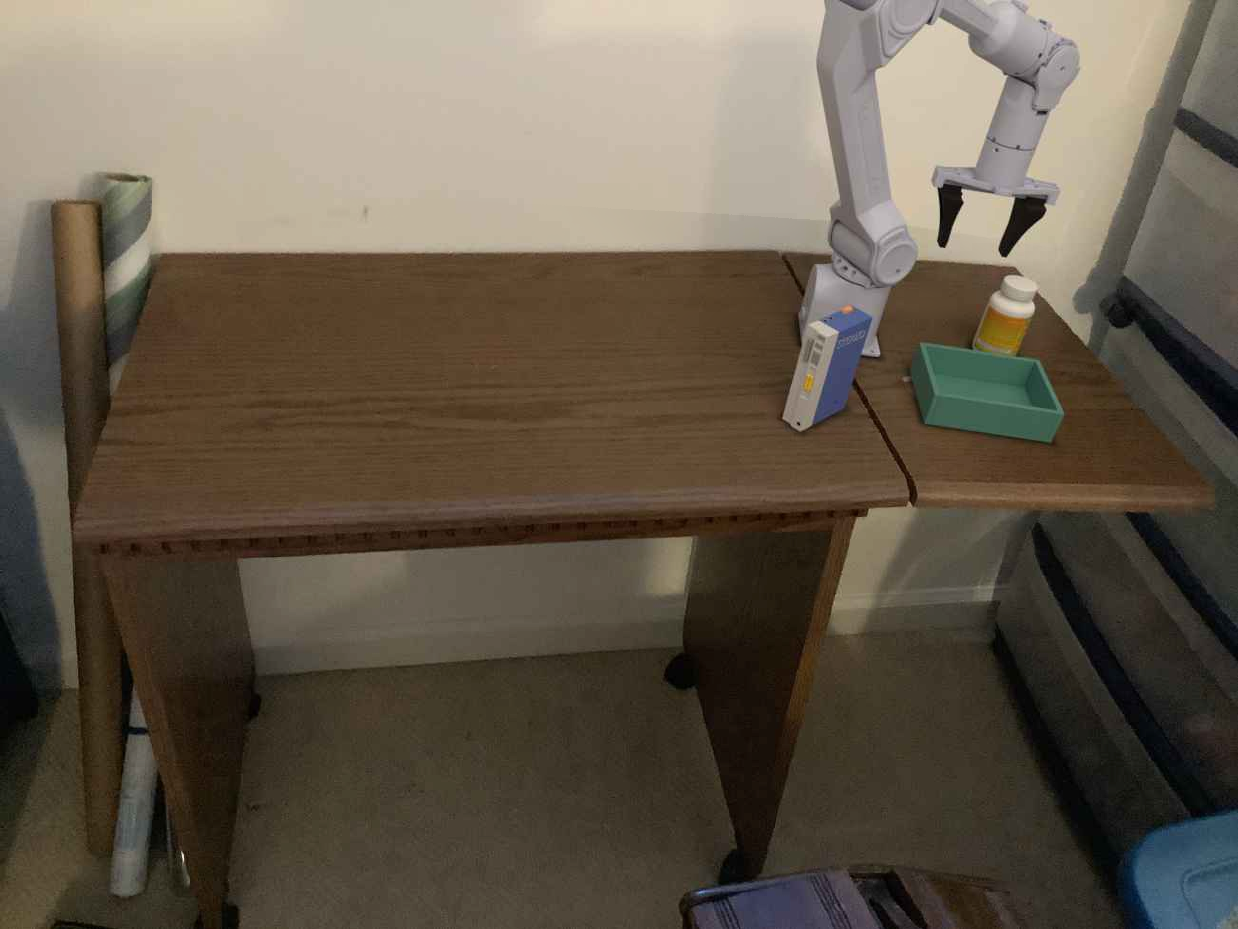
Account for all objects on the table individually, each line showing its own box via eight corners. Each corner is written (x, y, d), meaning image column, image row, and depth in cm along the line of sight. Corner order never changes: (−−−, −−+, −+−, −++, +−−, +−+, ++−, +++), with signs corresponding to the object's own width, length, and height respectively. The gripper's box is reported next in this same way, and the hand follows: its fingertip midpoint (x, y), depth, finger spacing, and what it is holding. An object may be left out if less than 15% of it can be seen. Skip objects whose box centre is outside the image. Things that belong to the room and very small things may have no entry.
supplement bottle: (1016, 367, 124) (1047, 297, 118) (972, 358, 124) (1000, 287, 118) (1012, 346, 128) (1041, 277, 122) (969, 337, 128) (996, 268, 123)
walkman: (824, 396, 113) (852, 302, 106) (844, 409, 112) (874, 313, 104) (779, 419, 108) (805, 321, 101) (799, 432, 107) (827, 334, 100)
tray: (923, 423, 111) (934, 394, 109) (909, 369, 120) (919, 341, 118) (1051, 442, 111) (1064, 414, 109) (1027, 387, 120) (1039, 359, 118)
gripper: (955, 143, 113) (918, 254, 121) (1083, 163, 113) (1037, 272, 121) (944, 122, 119) (910, 229, 127) (1066, 141, 119) (1024, 247, 127)
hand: (971, 249), depth 124 cm, fingers open, 7 cm apart
